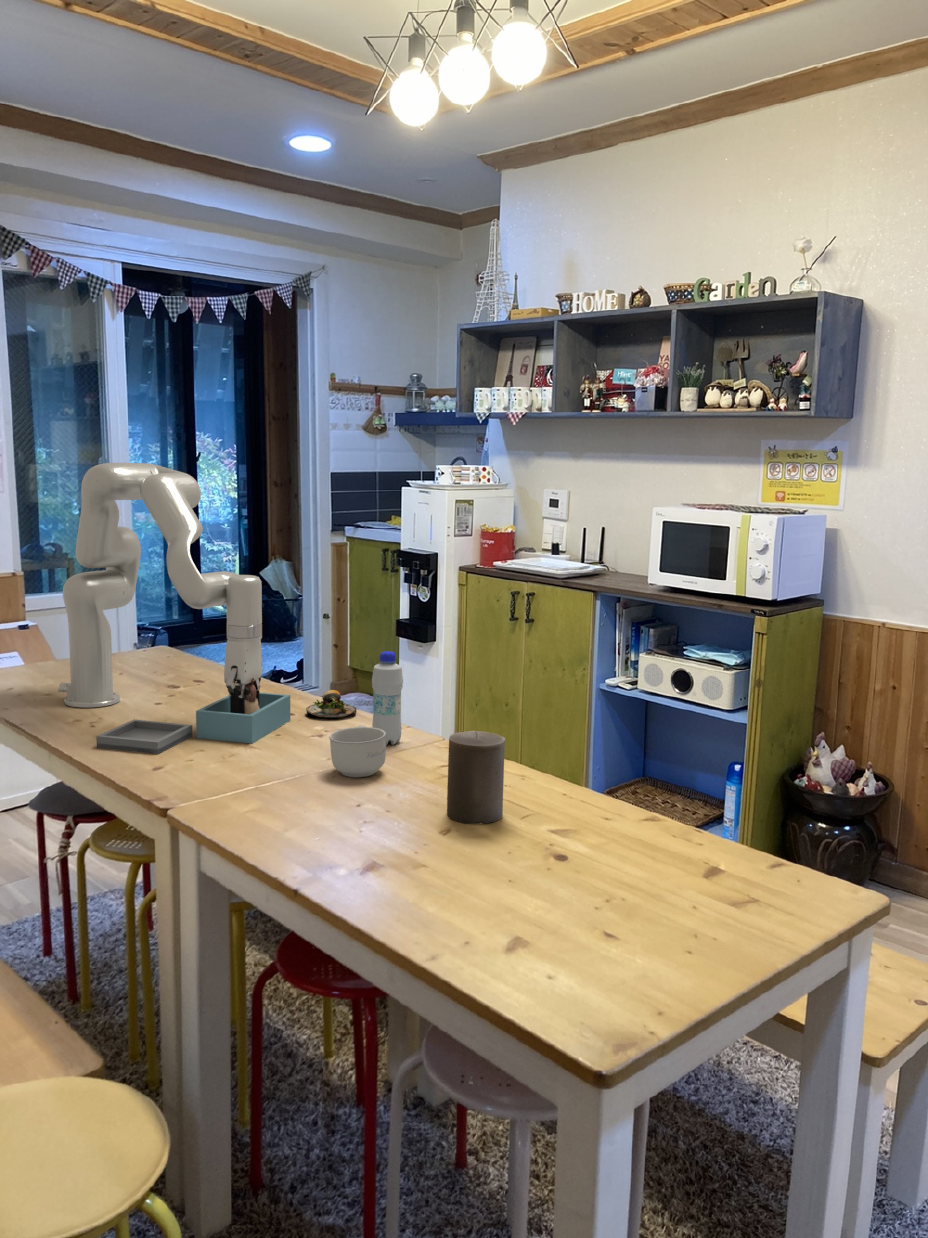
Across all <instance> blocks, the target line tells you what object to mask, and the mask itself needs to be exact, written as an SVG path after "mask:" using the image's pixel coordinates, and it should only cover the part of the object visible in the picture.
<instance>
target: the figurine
mask: <svg viewBox="0 0 928 1238" xmlns="http://www.w3.org/2000/svg"><path fill="white" fill-rule="evenodd" d="M254 681H255V679H254V678H253V679H251V682H250V683H249V684H247V685H245V688H244V693H243V698H245V714H249V715H250V714H252V713H254V712H256V711H257V710H259V704H258V700H257V698H256V688H255V686H254V685H253V683H254ZM240 682H241V681H236V682H235V683H240ZM236 688H237V689H238V690H240V687H236Z"/></svg>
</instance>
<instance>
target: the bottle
mask: <svg viewBox="0 0 928 1238" xmlns="http://www.w3.org/2000/svg"><path fill="white" fill-rule="evenodd" d="M396 659H397V657H396V653H395V652H393V651H390V650H386V651H381V653H380V654H379V663H377V664H375V665H374V666H373V670H372V677H371V678H372V679H371V683H372V685H371V687H372V689H373V693H372V695H373V696H372V697H373V699H372V708H373V709H372V710H373V711H372V713H373V714H372V725H371V727H373V728H378V729H381V730H384V731H385V733H386V736H385V742H386V746H387V745H388V743H389V741H390V744H391V745H392V746H393V745H395V744H398V743H399V742H400V740H401V738H402V719H401V718H402V716H401V715H402V714H401V713H402V712H401V711H402V689H403V687H404V685H403V683H404V679H403V678H404V677H403V670H402V666H401V665H399V664H397V662H396V661H397V660H396Z"/></svg>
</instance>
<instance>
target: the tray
mask: <svg viewBox="0 0 928 1238" xmlns="http://www.w3.org/2000/svg"><path fill="white" fill-rule="evenodd" d="M192 737H193V724H187V723H185V724H184V723H175V722H163V721H155V720H154V721H153V720H143V719H135V718H134V719H132V720H129V721H127V722H125V723H123V724H120V725H119V726H116V727H114V728H111V729H110V730H107V731H105V732H102V733H100V734H98V735H96V737H95V739H96V742H95V743H96V745H95V746H96V747H95V748H97V749H105V750H114V751H123V752H133V753H141V754H150V755H151V754H152V755H160V754H161V753H164V752H165V751H167V750H169V749H171V748H173V747H175V746H177V745H178V744H180V743H182V742H185V741H186V740H188V739H190V738H192Z"/></svg>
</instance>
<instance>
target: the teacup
mask: <svg viewBox="0 0 928 1238" xmlns="http://www.w3.org/2000/svg"><path fill="white" fill-rule="evenodd" d="M385 736H386V733H385V731H384V730H381V729H378V728H373V727H372V726H371V727H370V726H366V725H364V724H360V725H358V726H355V727H354V726H353V727H346V728H340V729H338V730H335V731H333V732H332V733H330V734H329V736H328V737H329V742H330V743H329V745H330V756H331V763H332V766H333V768H335V770H336V771H338V772H339V773H340V774H342V775H343V776H345V777H347V778H364V777H365V778H366V777H369V776H372V775H375V774H376V773H377V772H378V771H379V769H381V768H382V767H383V766H384V765H385V761H386V751H387V749H386V748H387V747H386V746H387V745H386V742H385Z"/></svg>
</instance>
